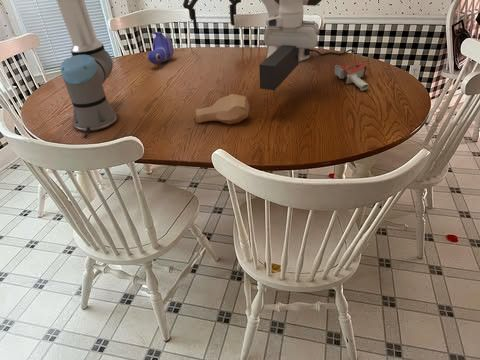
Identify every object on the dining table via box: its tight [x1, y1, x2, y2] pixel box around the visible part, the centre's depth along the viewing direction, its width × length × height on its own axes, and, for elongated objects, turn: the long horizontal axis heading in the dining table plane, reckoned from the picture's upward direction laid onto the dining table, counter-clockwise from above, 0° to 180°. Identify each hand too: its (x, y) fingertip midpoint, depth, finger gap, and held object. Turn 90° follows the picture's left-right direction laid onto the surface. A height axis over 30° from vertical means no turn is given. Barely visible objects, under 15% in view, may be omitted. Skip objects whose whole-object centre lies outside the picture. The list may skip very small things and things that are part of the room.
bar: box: [259, 45, 300, 91], centre depth 129 cm, size 28×5×8 cm, turn 155°
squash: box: [195, 93, 251, 125], centre depth 127 cm, size 11×20×9 cm, turn 92°
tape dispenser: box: [334, 61, 370, 92], centre depth 151 cm, size 18×5×20 cm
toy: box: [146, 31, 175, 69], centre depth 182 cm, size 10×17×25 cm
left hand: (214, 26), depth 128 cm, fingers open, 13 cm apart
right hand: (289, 58), depth 137 cm, fingers closed on bar, 5 cm apart
